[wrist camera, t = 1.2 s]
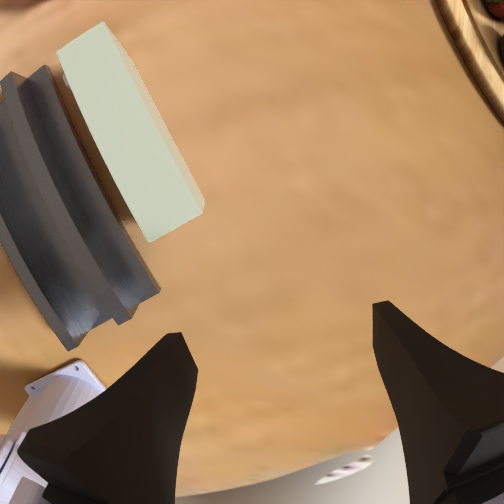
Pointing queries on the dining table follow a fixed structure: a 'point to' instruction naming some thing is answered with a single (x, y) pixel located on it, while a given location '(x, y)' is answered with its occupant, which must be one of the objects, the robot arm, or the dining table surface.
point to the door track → (62, 217)
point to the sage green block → (130, 133)
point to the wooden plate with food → (480, 43)
